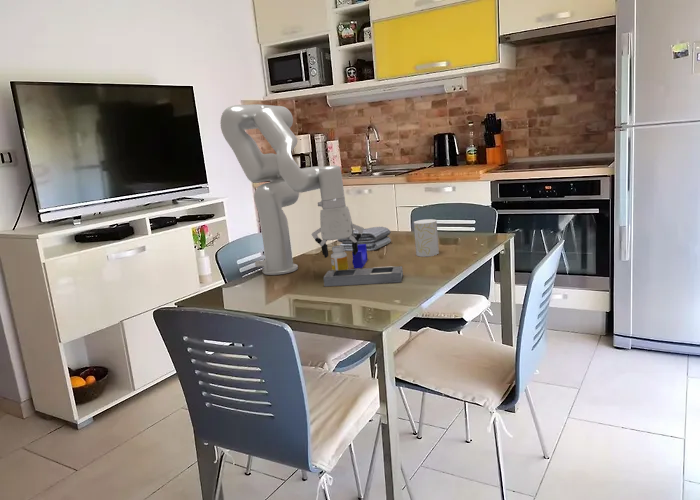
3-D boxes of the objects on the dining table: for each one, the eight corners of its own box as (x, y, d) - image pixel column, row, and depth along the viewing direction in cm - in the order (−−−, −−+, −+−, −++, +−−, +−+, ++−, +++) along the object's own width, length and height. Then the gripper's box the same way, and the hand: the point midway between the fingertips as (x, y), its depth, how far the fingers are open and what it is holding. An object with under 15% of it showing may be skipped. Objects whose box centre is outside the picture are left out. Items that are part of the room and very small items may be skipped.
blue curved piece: (355, 260, 211) (354, 244, 210) (367, 260, 210) (366, 244, 209) (349, 269, 199) (347, 252, 198) (362, 268, 199) (360, 251, 197)
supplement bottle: (351, 273, 193) (348, 244, 191) (344, 277, 188) (341, 248, 186) (337, 272, 195) (334, 244, 193) (330, 277, 191) (326, 248, 189)
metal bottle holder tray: (324, 286, 180) (323, 276, 179) (329, 279, 188) (328, 270, 187) (401, 282, 176) (400, 272, 175) (403, 275, 183) (402, 265, 183)
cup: (413, 256, 207) (410, 223, 205) (419, 251, 214) (417, 219, 212) (435, 256, 204) (433, 223, 201) (441, 251, 211) (438, 218, 209)
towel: (377, 251, 222) (376, 231, 221) (335, 251, 231) (333, 232, 229) (392, 243, 236) (390, 224, 234) (352, 243, 244) (350, 225, 242)
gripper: (305, 208, 185) (312, 260, 188) (358, 202, 182) (365, 255, 185) (310, 205, 192) (317, 255, 195) (361, 199, 189) (368, 250, 192)
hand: (340, 255), depth 190 cm, fingers open, 9 cm apart
